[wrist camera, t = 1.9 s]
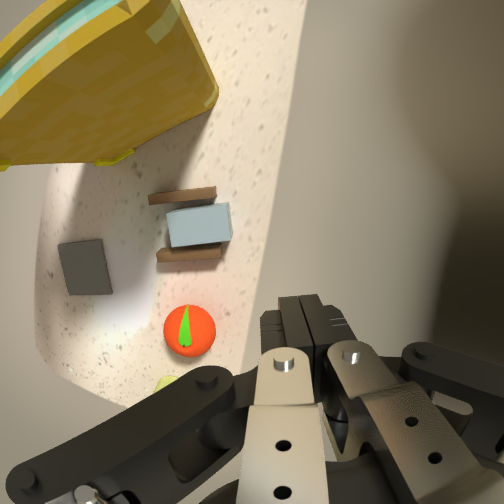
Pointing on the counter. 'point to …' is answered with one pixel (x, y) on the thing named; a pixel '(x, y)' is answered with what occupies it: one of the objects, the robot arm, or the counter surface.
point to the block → (200, 224)
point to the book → (98, 80)
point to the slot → (186, 251)
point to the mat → (85, 268)
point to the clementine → (189, 330)
